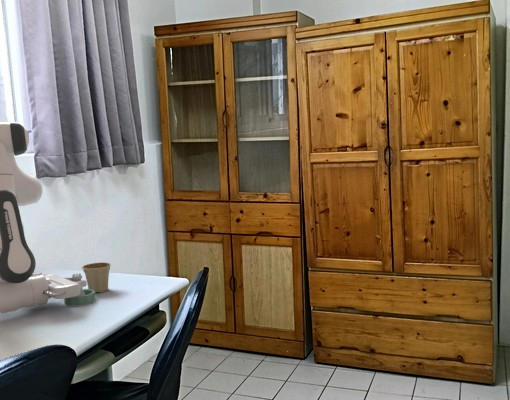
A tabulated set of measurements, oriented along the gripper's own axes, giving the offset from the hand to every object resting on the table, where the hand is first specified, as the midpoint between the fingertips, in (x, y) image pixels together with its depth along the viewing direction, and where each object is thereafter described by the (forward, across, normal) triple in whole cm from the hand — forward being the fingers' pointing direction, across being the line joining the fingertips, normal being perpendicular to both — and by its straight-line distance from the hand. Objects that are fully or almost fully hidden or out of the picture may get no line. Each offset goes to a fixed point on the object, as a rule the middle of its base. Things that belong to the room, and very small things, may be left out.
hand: (81, 281), depth 185 cm
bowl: (-1, 0, +6) cm, 6 cm away
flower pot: (+9, +8, +7) cm, 14 cm away
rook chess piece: (-1, +1, +6) cm, 6 cm away
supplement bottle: (-8, +16, +7) cm, 19 cm away
